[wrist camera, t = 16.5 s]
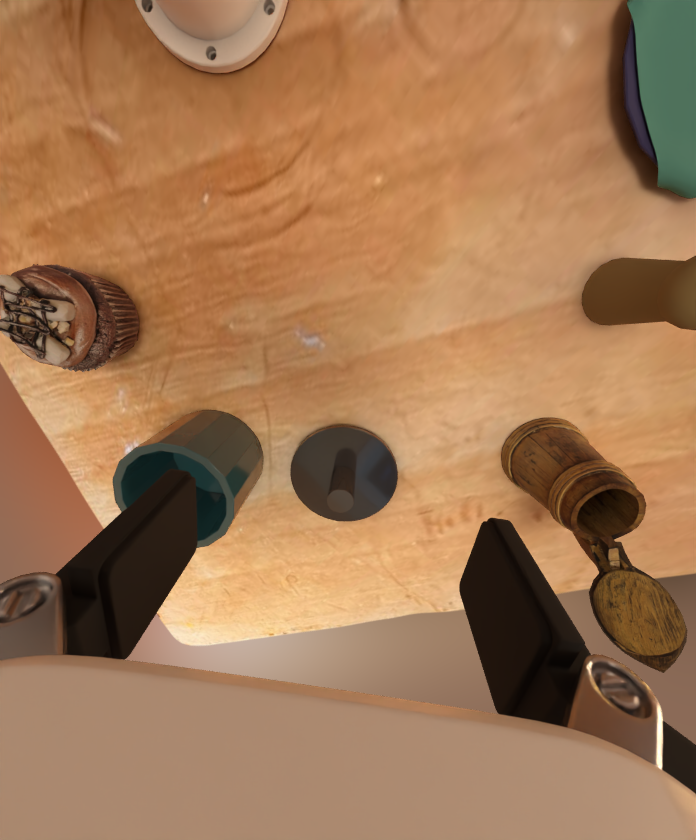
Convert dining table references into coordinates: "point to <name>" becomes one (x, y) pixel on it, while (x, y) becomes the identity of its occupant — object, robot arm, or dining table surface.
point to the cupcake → (66, 317)
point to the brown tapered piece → (642, 292)
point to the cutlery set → (663, 88)
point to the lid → (344, 473)
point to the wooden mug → (598, 534)
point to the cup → (197, 467)
